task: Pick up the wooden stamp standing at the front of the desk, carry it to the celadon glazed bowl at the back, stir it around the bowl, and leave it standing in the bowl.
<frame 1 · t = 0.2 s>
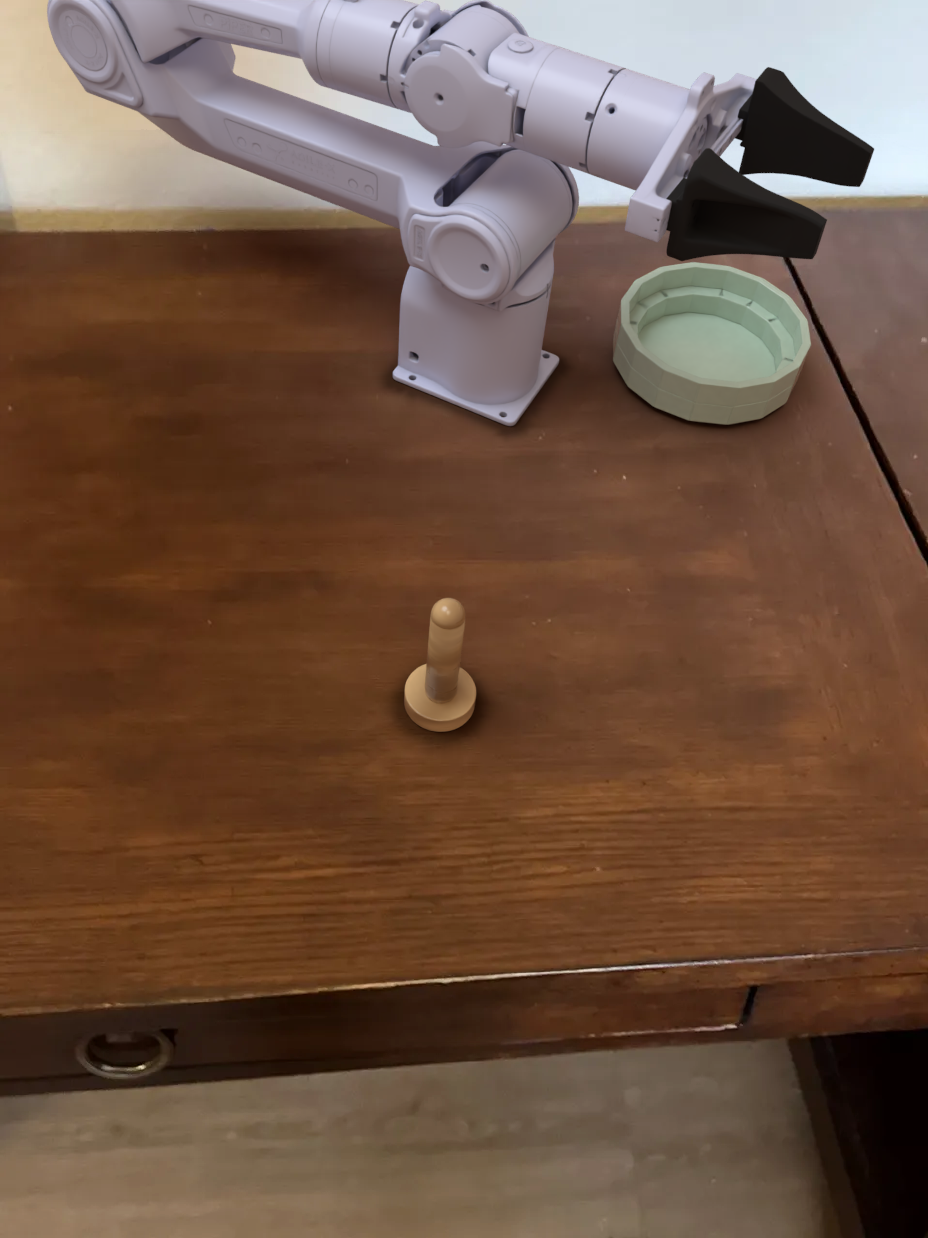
hand: (844, 202, 63), 21 cm above the table, tool horizontal, fingers open, 7 cm apart
wooden stamp: (439, 702, 68), on the table
bowl: (702, 365, 87), on the table
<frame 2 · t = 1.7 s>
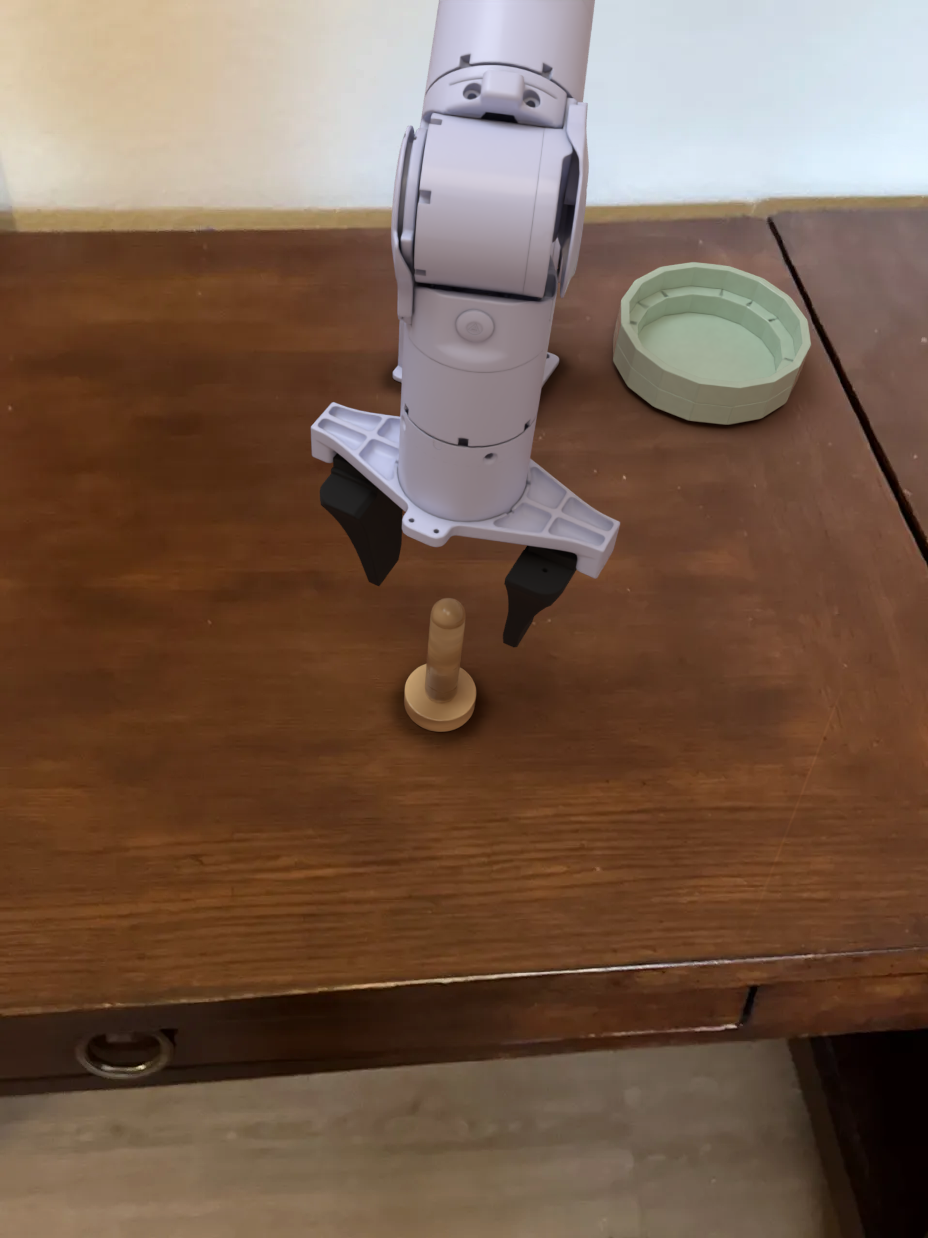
hand: (449, 600, 61), 9 cm above the table, tool pointing down, fingers open, 7 cm apart
nothing on the table moved.
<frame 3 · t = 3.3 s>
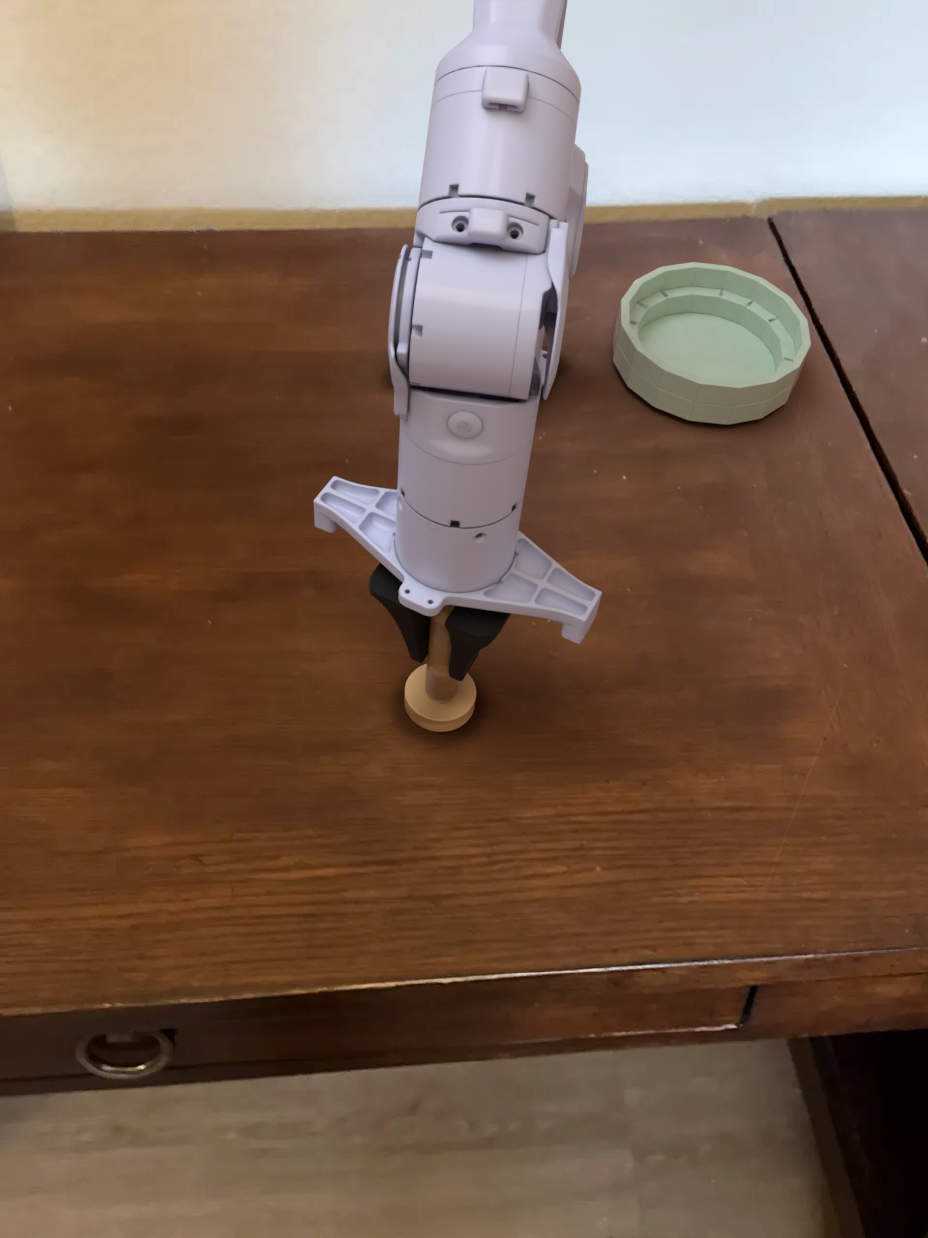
hand: (443, 657, 65), 4 cm above the table, tool pointing down, fingers closed on wooden stamp, 2 cm apart
wooden stamp: (439, 702, 68), on the table, touching gripper
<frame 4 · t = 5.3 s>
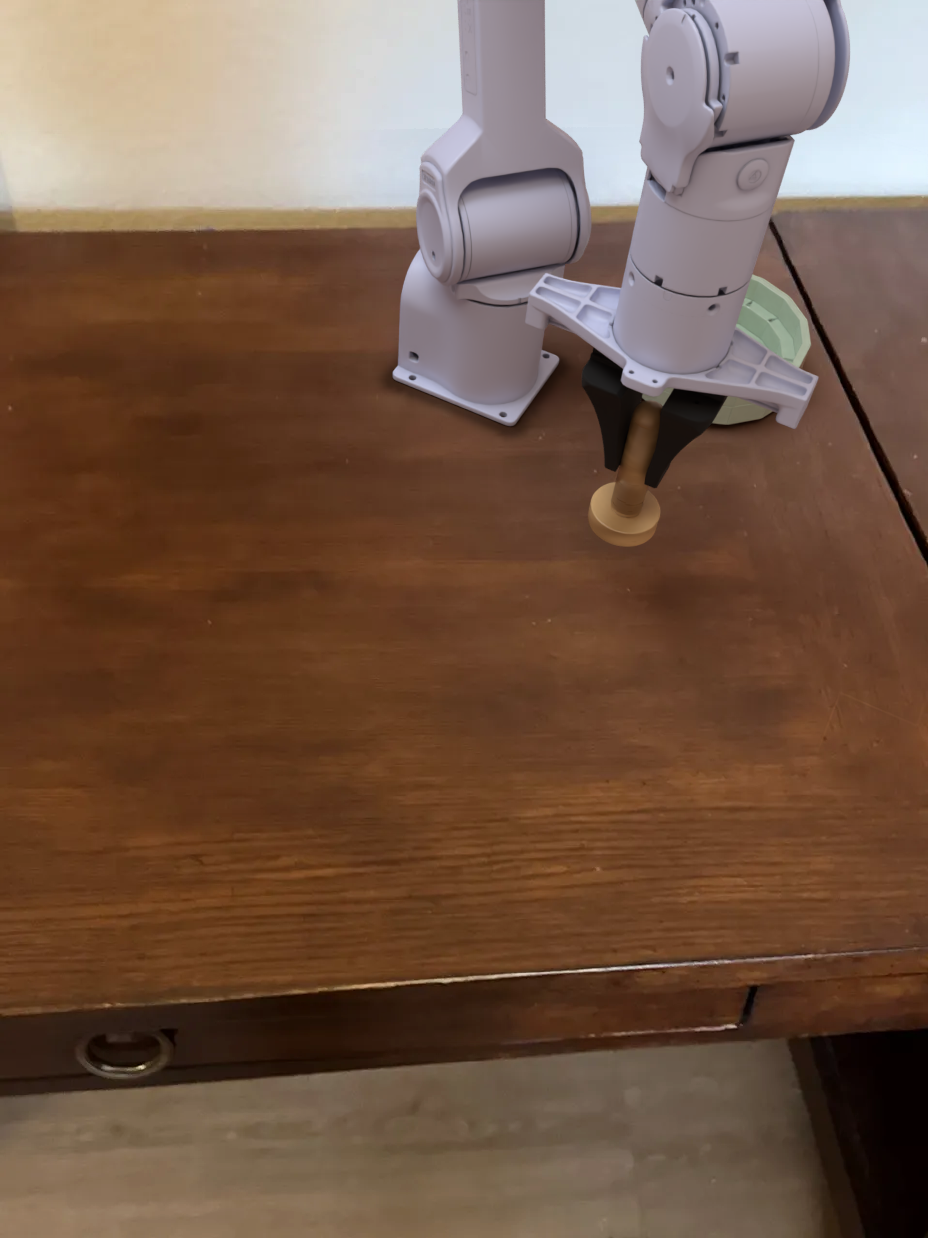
hand: (636, 466, 66), 10 cm above the table, tool pointing down, fingers closed on wooden stamp
wooden stamp: (622, 520, 70), point 6 cm above the table, touching gripper
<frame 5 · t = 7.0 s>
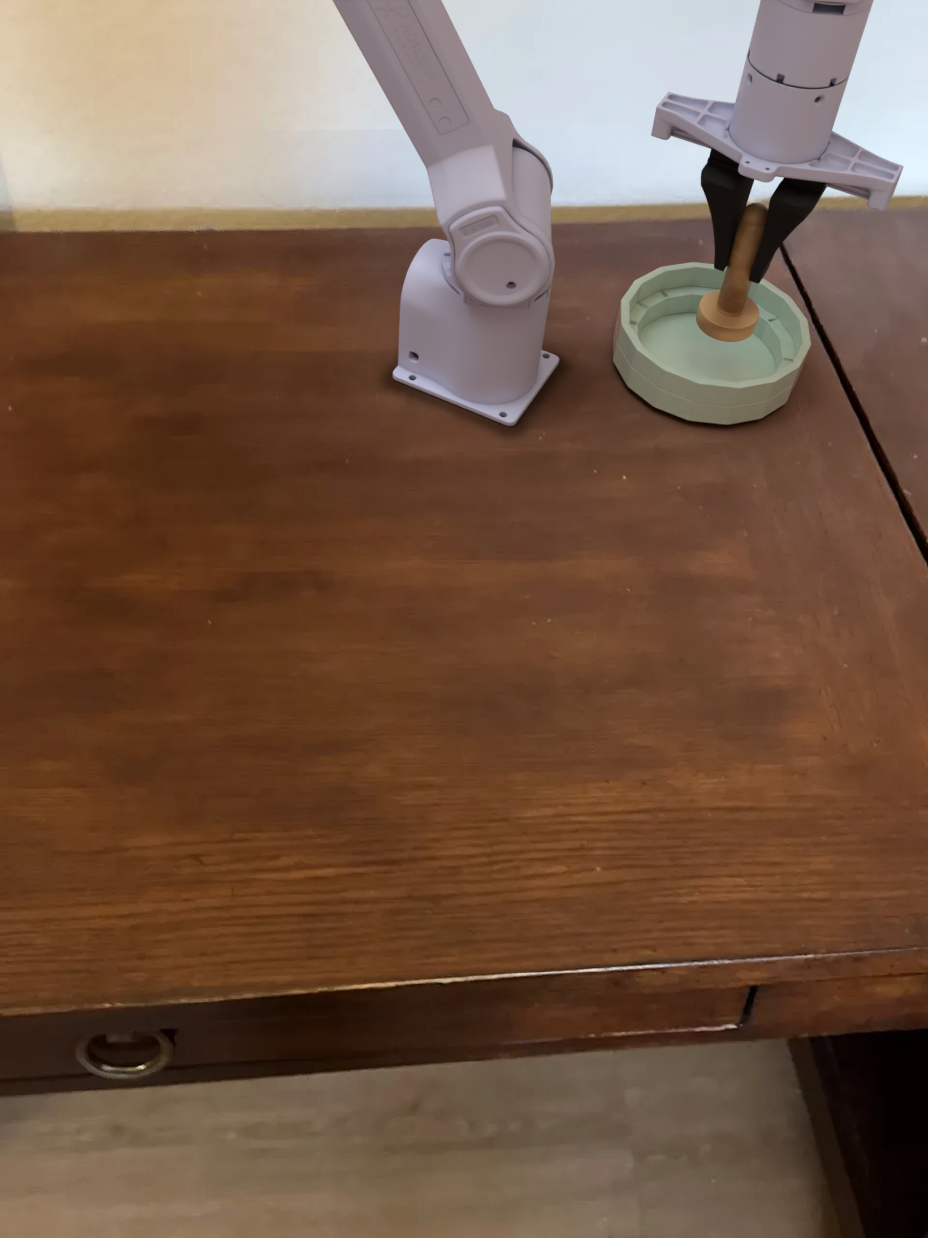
hand: (740, 267, 78), 10 cm above the table, tool pointing down, fingers closed on wooden stamp
wooden stamp: (725, 322, 81), point 6 cm above the table, touching gripper
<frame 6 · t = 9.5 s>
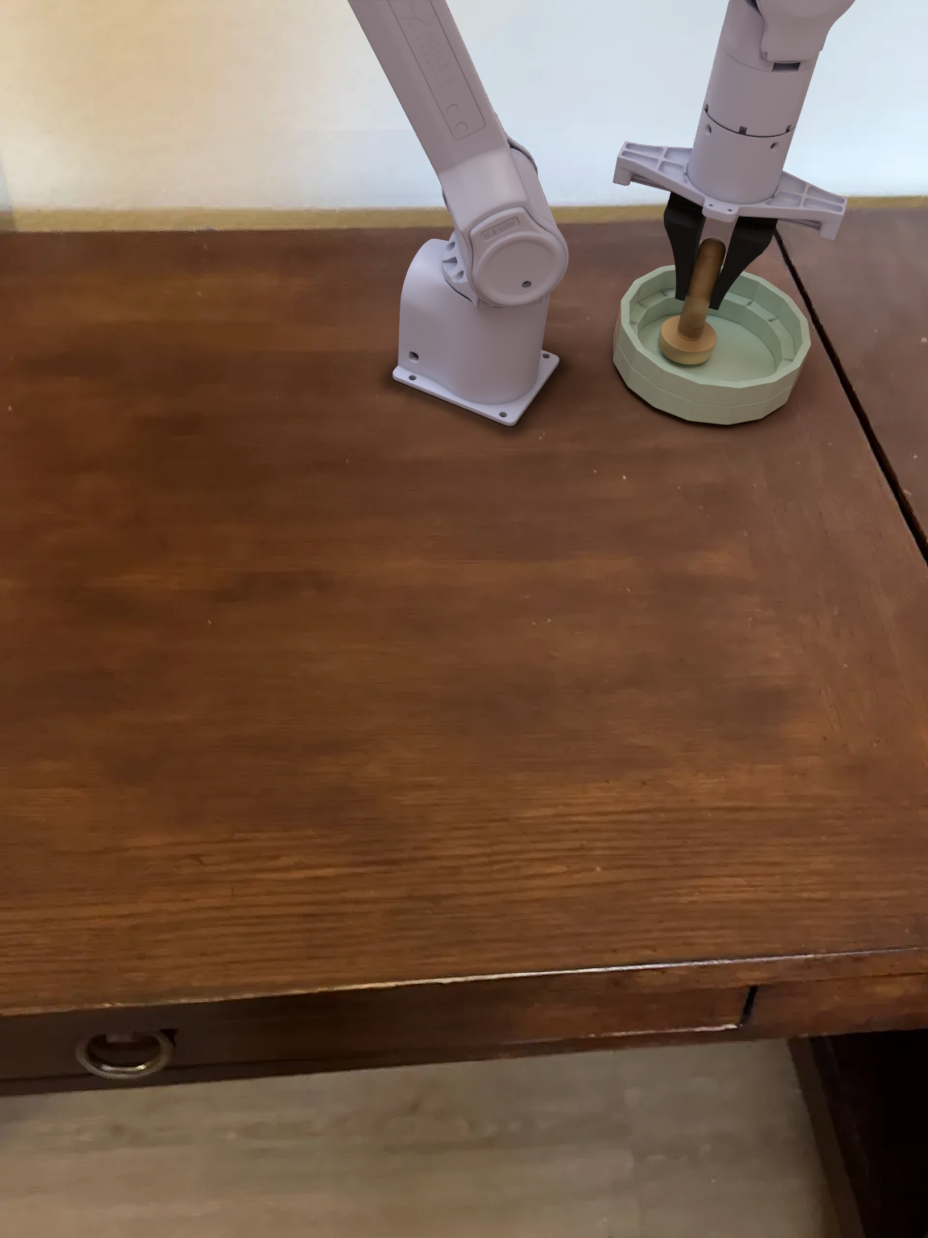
hand: (698, 296, 83), 6 cm above the table, tool pointing down, fingers closed on wooden stamp, 2 cm apart
wooden stamp: (685, 346, 87), point 1 cm above the table, touching gripper
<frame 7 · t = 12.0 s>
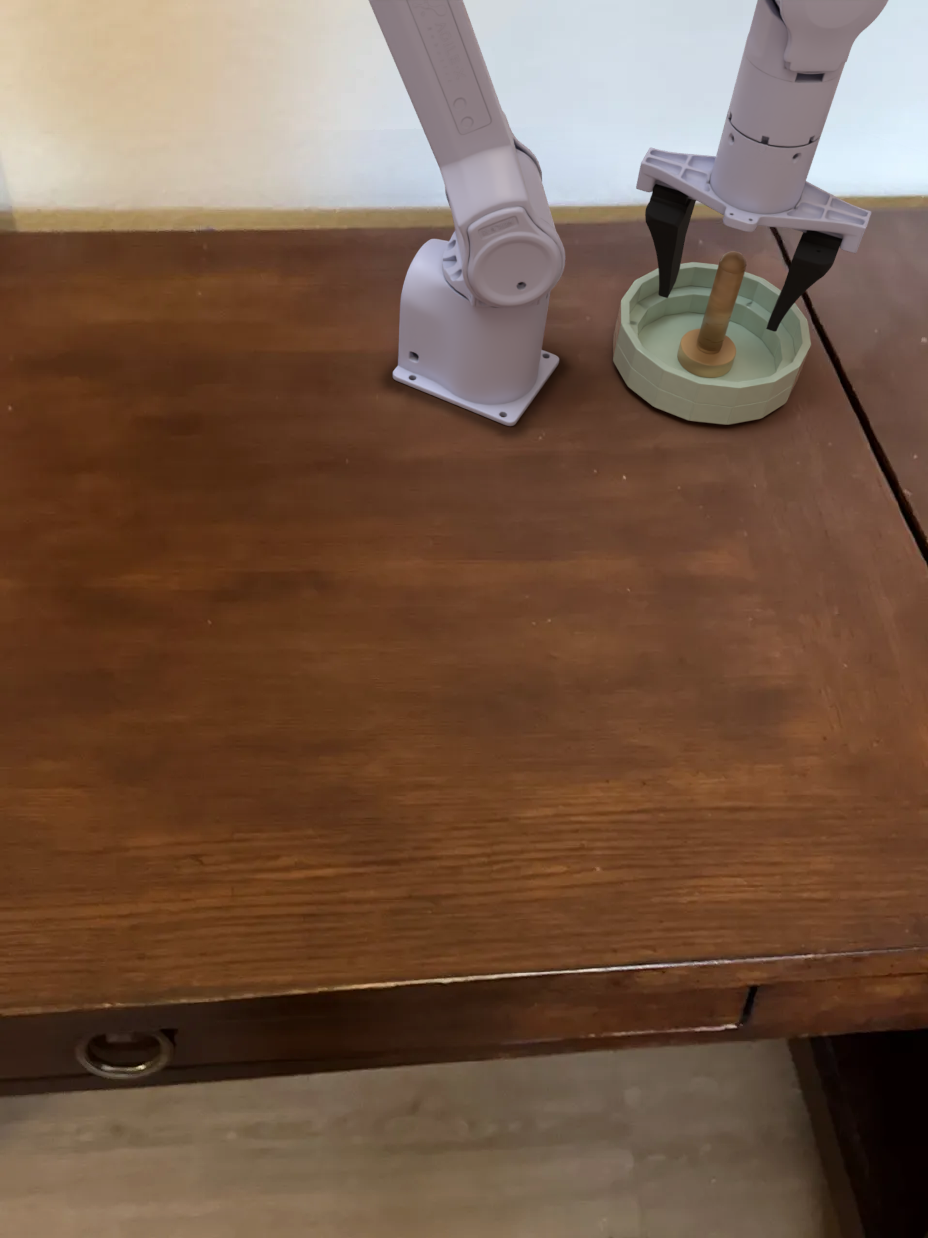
hand: (720, 305, 83), 5 cm above the table, tool pointing down, fingers open, 7 cm apart
wooden stamp: (704, 359, 87), point 1 cm above the table, touching bowl
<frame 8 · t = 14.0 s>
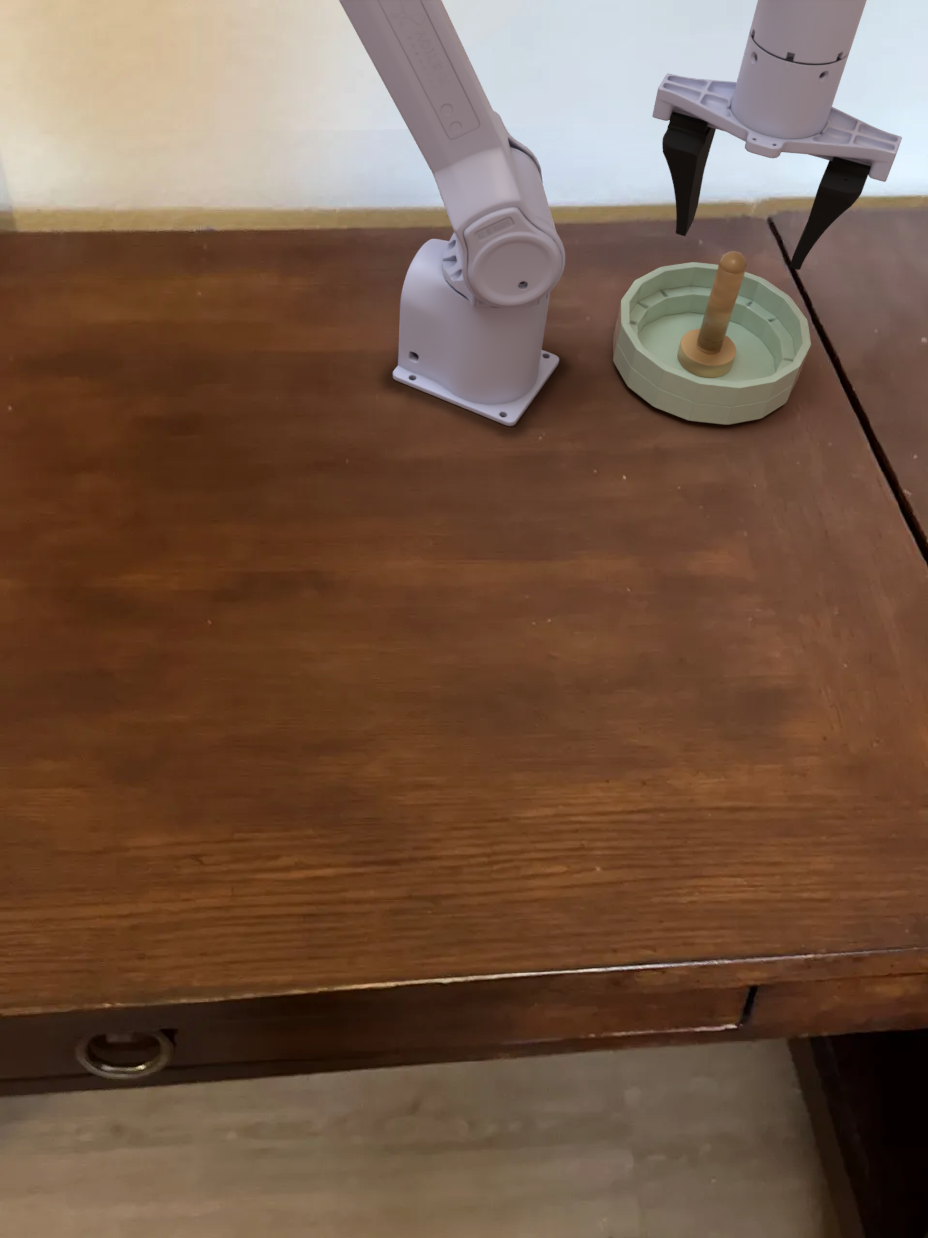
hand: (740, 243, 79), 10 cm above the table, tool pointing down, fingers open, 7 cm apart
nothing on the table moved.
at the end: wooden stamp inside the target area in the bowl (0.0 cm from its centre), point 0.6 cm above the bowl's base; wooden stamp tilted 0°; the gripper is holding nothing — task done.
